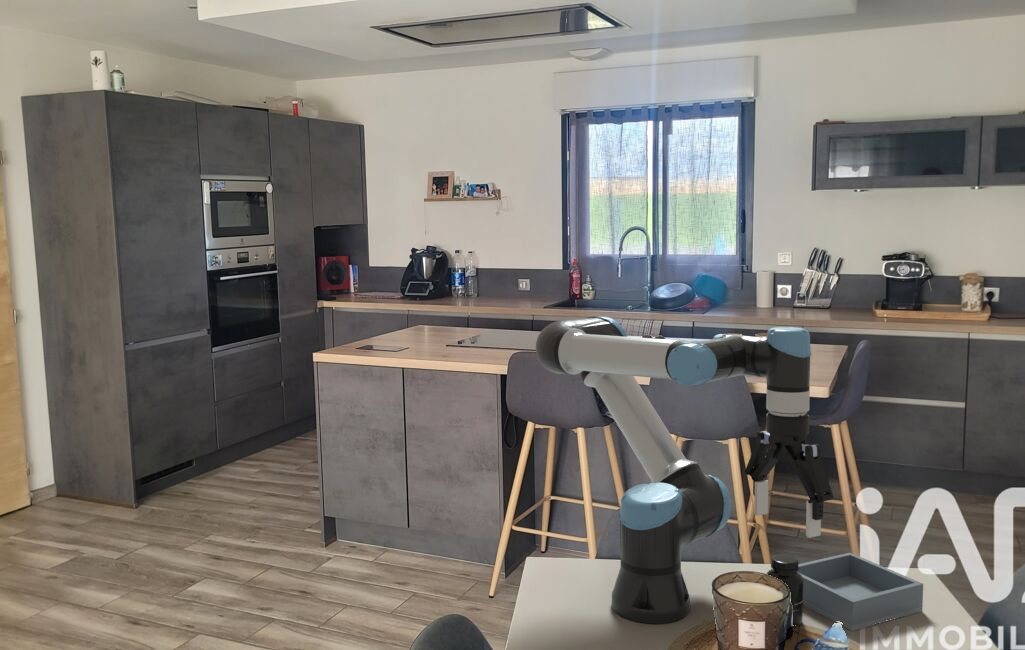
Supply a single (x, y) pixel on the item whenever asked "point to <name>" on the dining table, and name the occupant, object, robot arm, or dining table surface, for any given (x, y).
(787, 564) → the supplement bottle
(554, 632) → the dining table surface
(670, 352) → the robot arm
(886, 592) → the open box
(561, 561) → the dining table surface
